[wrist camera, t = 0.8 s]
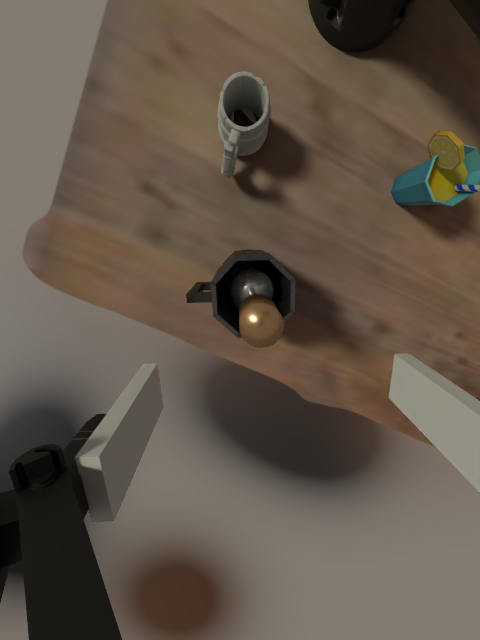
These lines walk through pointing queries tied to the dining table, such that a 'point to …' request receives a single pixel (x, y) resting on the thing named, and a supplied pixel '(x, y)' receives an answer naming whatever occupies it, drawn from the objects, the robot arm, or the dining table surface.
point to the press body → (226, 273)
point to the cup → (441, 174)
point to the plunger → (256, 308)
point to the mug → (250, 98)
